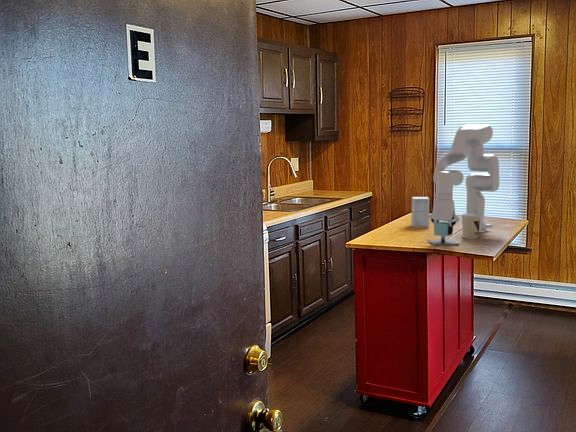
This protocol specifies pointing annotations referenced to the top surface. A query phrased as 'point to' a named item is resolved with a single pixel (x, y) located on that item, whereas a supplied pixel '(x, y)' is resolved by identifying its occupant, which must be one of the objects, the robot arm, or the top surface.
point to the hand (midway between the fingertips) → (443, 233)
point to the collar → (441, 228)
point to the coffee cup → (470, 225)
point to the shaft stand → (443, 241)
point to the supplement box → (420, 212)
